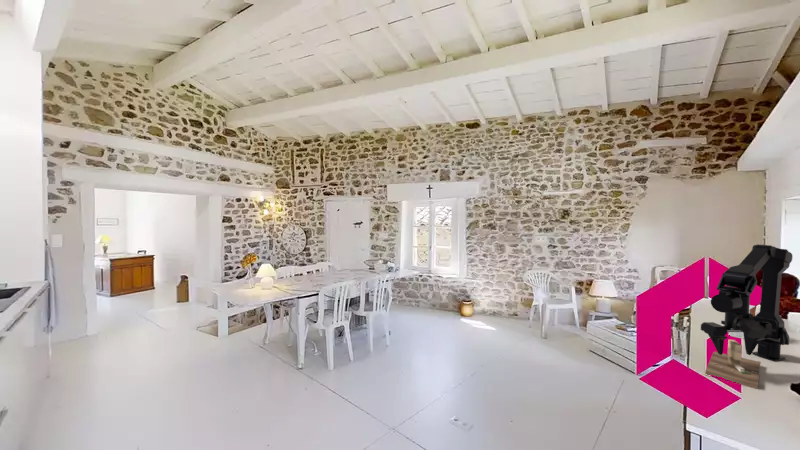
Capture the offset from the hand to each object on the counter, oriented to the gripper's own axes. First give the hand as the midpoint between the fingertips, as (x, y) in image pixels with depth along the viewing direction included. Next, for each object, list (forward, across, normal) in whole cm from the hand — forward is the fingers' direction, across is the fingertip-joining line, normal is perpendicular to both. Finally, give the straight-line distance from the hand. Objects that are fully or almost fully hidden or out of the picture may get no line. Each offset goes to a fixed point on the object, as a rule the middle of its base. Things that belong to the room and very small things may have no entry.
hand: (734, 354), depth 118 cm
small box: (+6, +32, +32) cm, 46 cm away
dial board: (+6, 0, 0) cm, 6 cm away
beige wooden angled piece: (+4, -1, -1) cm, 4 cm away
